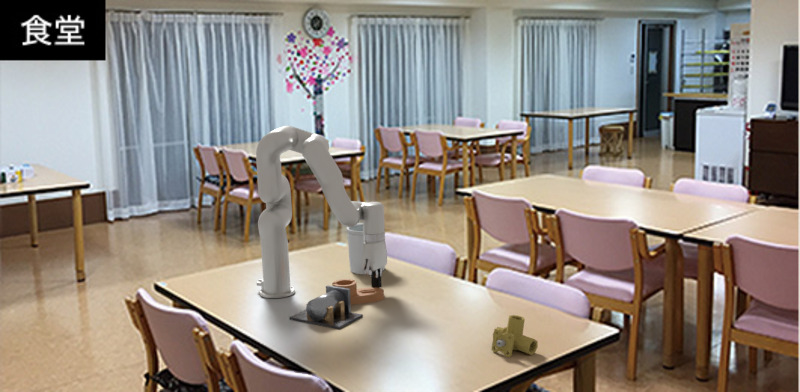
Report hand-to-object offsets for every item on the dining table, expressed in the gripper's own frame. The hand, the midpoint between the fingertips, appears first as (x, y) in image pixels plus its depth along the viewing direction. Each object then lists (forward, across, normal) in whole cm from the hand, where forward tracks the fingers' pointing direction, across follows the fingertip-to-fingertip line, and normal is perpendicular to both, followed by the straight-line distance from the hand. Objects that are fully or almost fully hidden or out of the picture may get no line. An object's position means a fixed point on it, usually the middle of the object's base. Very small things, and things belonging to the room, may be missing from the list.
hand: (376, 287), depth 283 cm
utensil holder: (+2, -24, -20) cm, 31 cm away
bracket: (+3, +9, -2) cm, 9 cm away
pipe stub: (+2, +29, 0) cm, 29 cm away
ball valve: (+3, +29, +64) cm, 70 cm away
